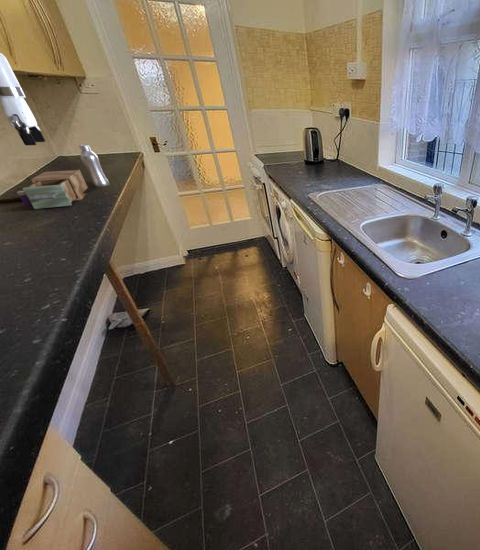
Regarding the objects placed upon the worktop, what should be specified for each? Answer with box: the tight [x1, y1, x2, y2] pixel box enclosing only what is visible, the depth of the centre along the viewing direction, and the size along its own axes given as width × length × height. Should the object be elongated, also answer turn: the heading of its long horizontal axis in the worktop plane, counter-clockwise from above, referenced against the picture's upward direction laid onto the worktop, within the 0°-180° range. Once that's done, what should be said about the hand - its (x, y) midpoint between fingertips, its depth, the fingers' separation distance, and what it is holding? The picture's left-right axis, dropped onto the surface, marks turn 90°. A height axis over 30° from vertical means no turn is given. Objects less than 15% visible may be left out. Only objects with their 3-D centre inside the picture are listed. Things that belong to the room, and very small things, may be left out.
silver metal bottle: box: [78, 144, 110, 188], centre depth 142 cm, size 6×7×20 cm
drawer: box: [22, 179, 77, 210], centre depth 121 cm, size 18×11×8 cm, turn 27°
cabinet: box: [30, 169, 89, 201], centre depth 132 cm, size 15×13×10 cm
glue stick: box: [16, 190, 33, 207], centre depth 123 cm, size 3×3×6 cm
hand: (35, 143), depth 117 cm, fingers open, 9 cm apart
